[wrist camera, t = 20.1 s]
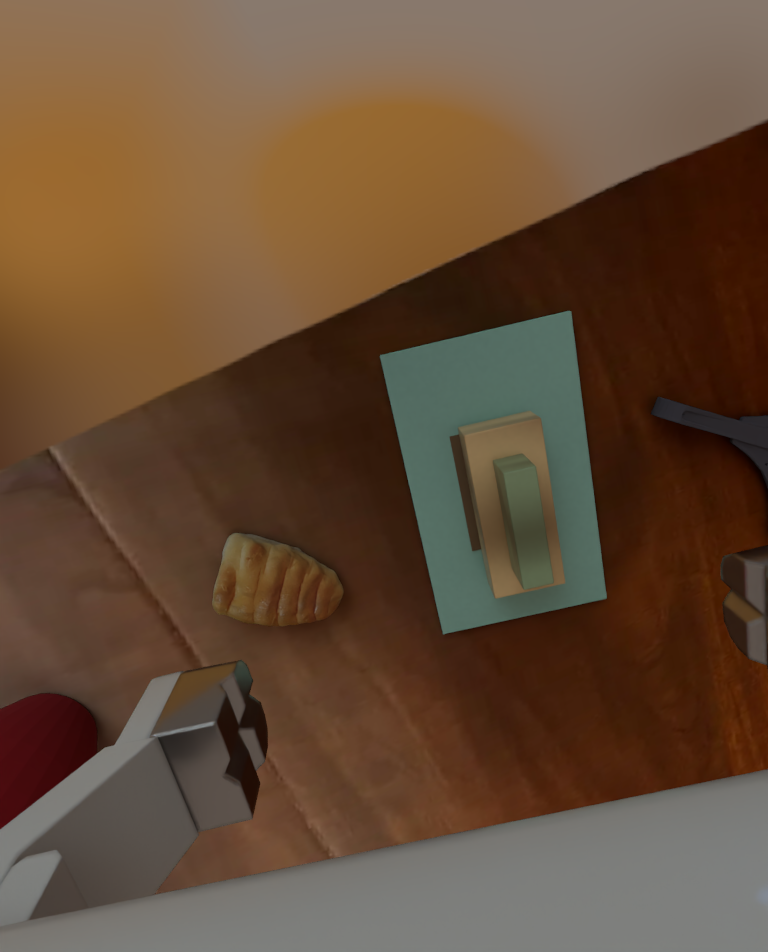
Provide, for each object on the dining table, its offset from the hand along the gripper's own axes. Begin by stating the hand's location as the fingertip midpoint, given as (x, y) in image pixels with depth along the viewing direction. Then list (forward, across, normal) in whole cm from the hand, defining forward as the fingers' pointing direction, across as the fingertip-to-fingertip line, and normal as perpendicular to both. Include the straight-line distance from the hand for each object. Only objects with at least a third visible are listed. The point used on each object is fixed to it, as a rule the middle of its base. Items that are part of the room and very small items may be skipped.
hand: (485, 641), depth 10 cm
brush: (+30, -6, +10) cm, 33 cm away
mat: (+31, -6, +9) cm, 33 cm away
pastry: (+31, +12, +12) cm, 36 cm away
